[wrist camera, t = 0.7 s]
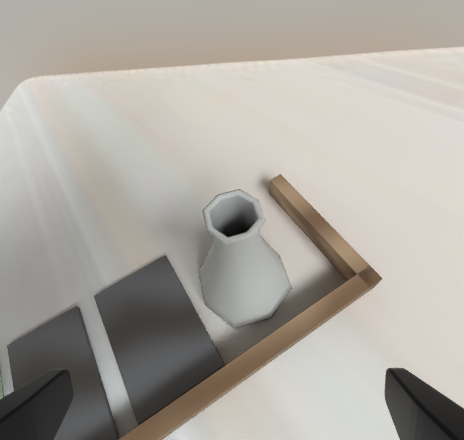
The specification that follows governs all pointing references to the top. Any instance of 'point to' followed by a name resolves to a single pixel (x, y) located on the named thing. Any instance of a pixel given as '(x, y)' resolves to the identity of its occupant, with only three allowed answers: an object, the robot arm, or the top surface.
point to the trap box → (173, 340)
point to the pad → (0, 390)
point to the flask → (240, 262)
